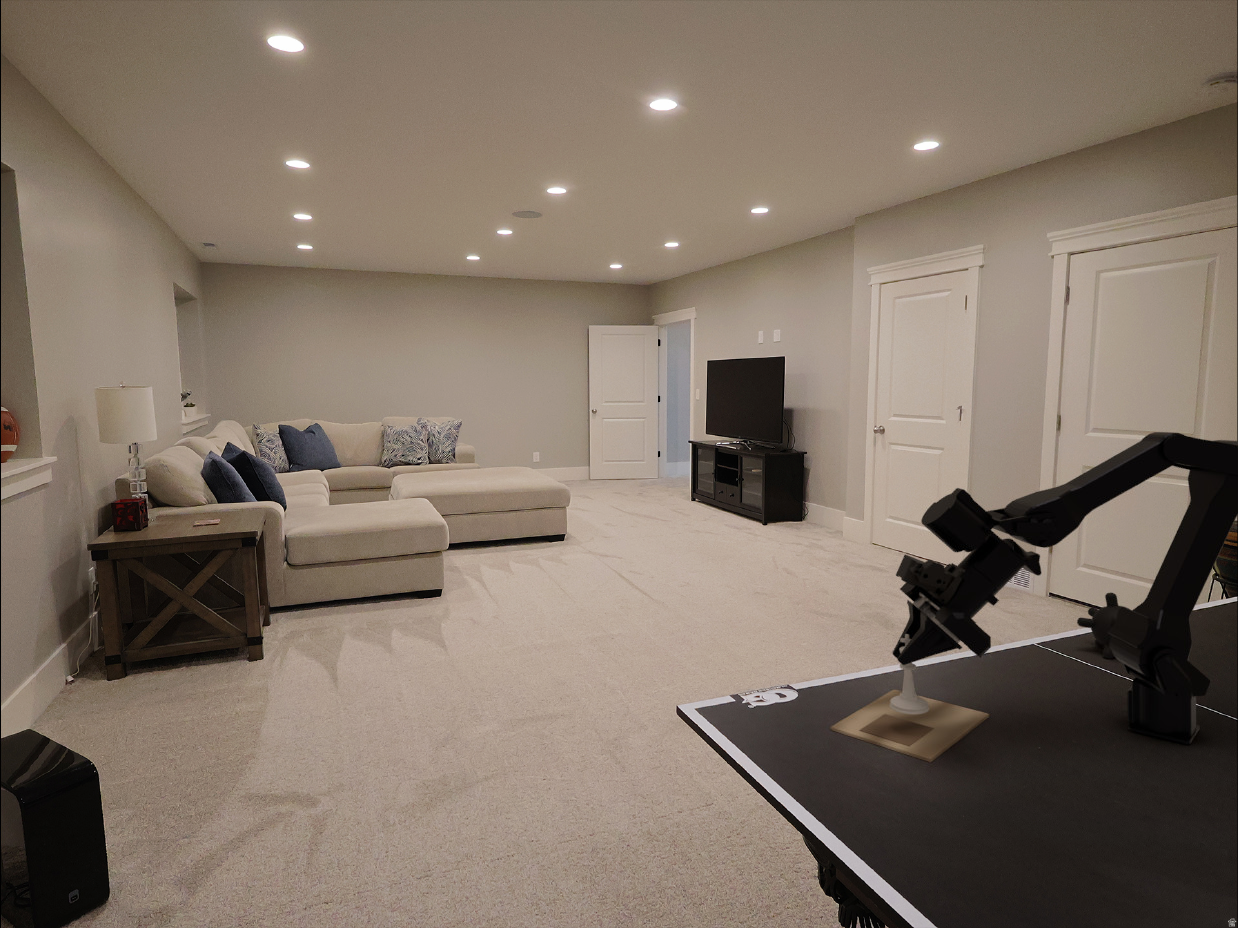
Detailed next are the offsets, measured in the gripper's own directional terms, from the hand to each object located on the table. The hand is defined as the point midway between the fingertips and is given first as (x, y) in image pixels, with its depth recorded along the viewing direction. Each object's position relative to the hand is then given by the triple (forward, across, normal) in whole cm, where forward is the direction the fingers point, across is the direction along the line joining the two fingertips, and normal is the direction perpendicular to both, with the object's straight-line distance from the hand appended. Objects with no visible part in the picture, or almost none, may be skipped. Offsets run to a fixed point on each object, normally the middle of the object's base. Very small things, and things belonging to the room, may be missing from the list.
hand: (897, 659), depth 97 cm
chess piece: (+4, 0, +6) cm, 7 cm away
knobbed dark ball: (-24, -30, +39) cm, 55 cm away
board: (+6, -3, +9) cm, 11 cm away
